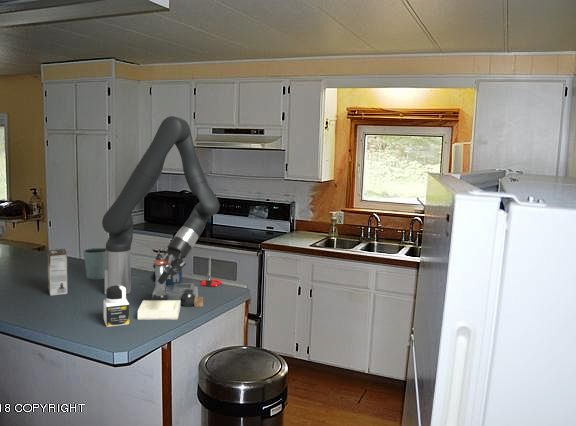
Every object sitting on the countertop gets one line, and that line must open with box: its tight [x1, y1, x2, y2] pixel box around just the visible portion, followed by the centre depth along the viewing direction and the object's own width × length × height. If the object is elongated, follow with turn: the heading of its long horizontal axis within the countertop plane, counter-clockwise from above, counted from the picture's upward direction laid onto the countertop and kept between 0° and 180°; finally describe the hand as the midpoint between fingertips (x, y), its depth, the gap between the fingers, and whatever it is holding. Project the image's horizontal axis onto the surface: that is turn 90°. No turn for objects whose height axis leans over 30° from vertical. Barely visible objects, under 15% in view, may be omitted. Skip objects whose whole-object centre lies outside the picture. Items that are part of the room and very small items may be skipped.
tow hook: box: [200, 255, 222, 288], centre depth 210 cm, size 8×13×9 cm
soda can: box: [166, 268, 183, 286], centre depth 207 cm, size 7×7×12 cm
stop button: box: [153, 259, 167, 296], centre depth 169 cm, size 4×4×12 cm
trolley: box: [151, 282, 199, 308], centre depth 185 cm, size 16×12×6 cm
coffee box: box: [46, 248, 68, 296], centre depth 190 cm, size 9×6×16 cm
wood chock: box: [194, 296, 204, 308], centre depth 181 cm, size 3×2×3 cm
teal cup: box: [82, 247, 106, 280], centre depth 213 cm, size 10×10×12 cm
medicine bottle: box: [103, 285, 130, 328], centre depth 161 cm, size 7×7×12 cm
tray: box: [137, 299, 181, 321], centre depth 171 cm, size 13×11×3 cm
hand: (155, 281), depth 168 cm, fingers closed on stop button, 3 cm apart
